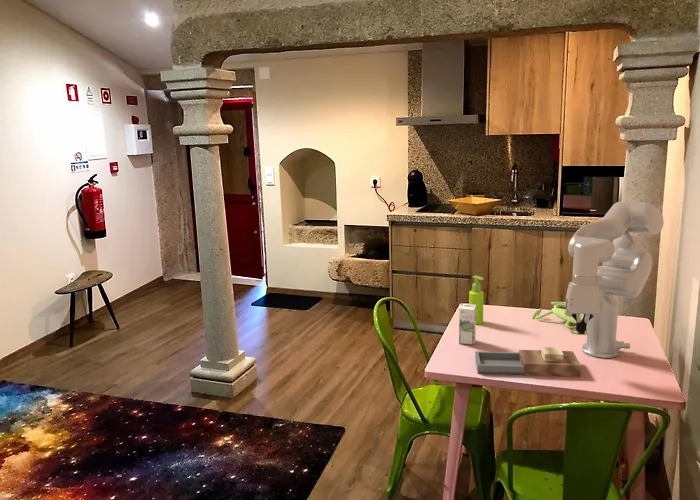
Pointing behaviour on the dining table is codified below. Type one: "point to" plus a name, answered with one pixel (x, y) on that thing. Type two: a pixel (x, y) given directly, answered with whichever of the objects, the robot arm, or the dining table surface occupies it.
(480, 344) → the dining table surface
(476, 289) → the soap dispenser
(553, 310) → the figurine
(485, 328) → the dining table surface
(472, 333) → the syrup box
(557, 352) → the tile
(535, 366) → the board
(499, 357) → the box
